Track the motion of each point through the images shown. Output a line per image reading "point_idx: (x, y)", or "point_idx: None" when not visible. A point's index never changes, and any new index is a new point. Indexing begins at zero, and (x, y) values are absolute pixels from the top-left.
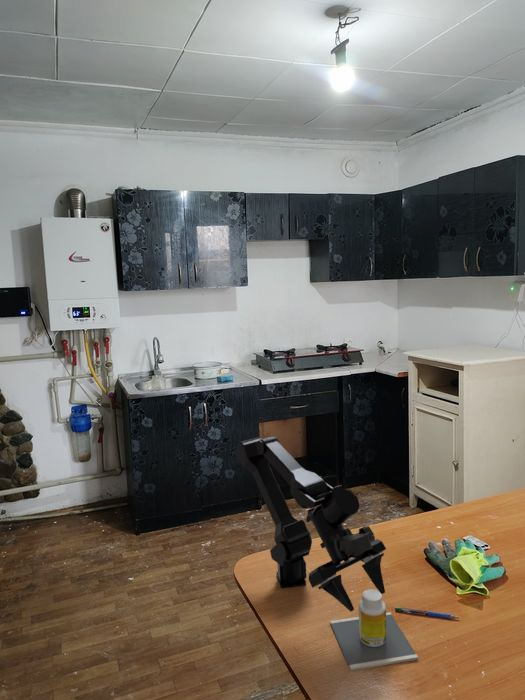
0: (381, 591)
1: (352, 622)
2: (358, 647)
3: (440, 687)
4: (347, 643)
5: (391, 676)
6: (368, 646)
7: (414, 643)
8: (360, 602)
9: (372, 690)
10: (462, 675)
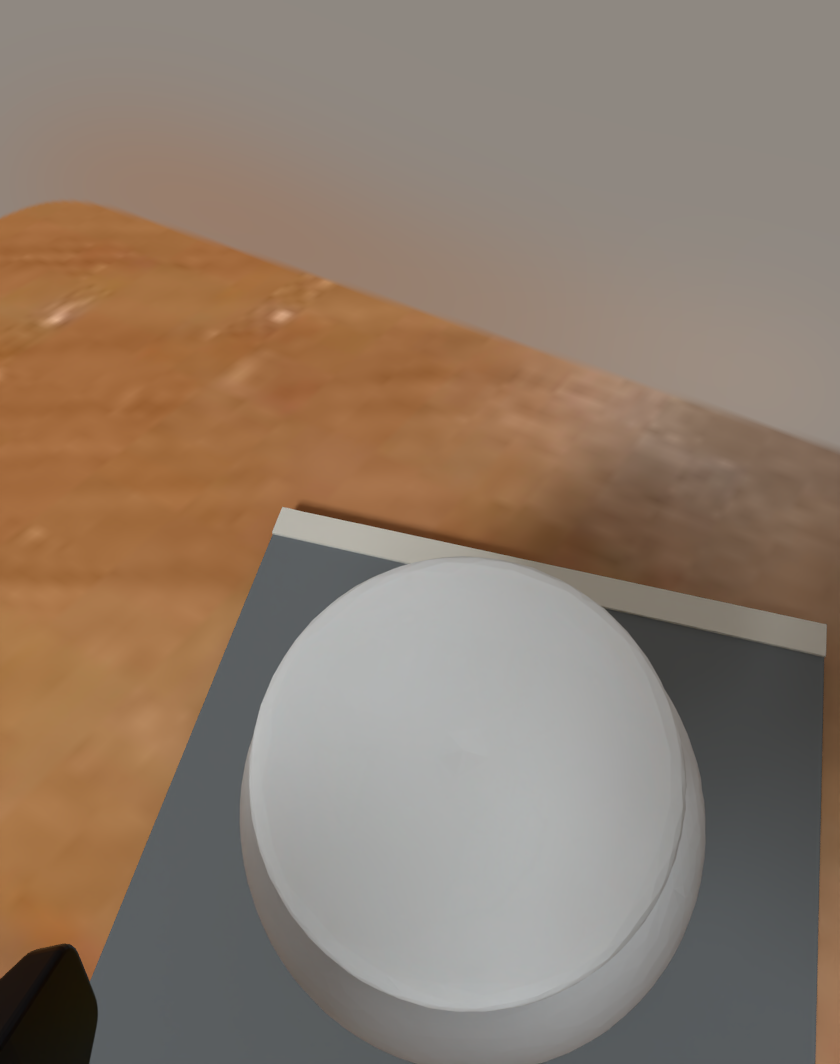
0: (72, 1017)
1: None
2: None
3: (335, 323)
4: (736, 908)
5: (546, 478)
6: None
7: (181, 654)
8: (656, 928)
9: (728, 440)
10: (163, 338)
